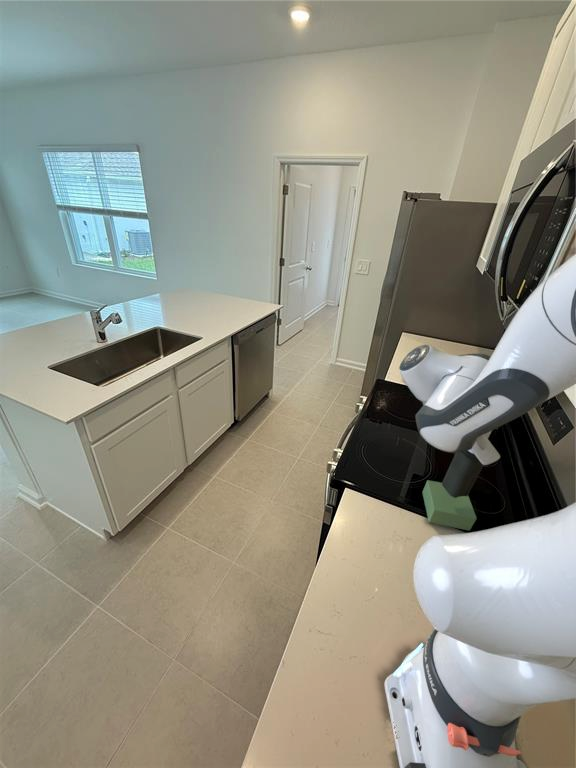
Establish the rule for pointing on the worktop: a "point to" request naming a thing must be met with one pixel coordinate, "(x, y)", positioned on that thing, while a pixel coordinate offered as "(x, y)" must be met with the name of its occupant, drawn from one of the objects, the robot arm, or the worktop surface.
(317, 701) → the worktop surface
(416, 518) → the worktop surface
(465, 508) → the green block
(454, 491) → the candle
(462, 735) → the robot arm
